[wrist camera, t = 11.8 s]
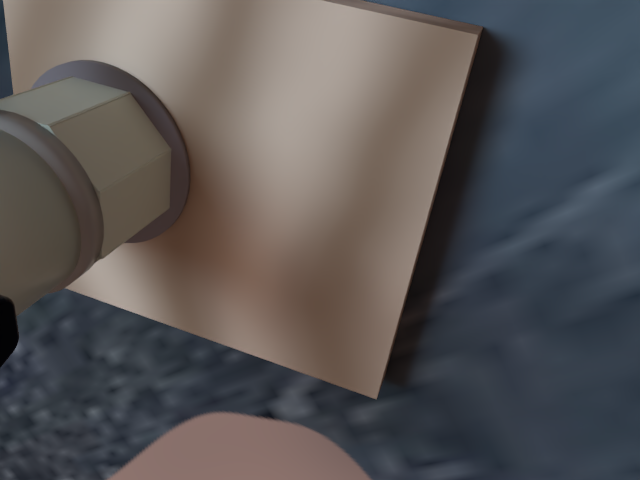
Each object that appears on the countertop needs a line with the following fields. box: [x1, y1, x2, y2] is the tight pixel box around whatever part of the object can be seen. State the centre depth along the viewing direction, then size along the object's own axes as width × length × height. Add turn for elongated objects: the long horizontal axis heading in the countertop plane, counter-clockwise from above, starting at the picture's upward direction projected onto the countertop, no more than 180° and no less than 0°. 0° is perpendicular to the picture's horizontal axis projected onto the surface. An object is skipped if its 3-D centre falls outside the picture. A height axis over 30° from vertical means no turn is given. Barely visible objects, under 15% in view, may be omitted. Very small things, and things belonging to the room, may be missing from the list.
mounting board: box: [3, 0, 483, 399], centre depth 21 cm, size 16×14×5 cm
